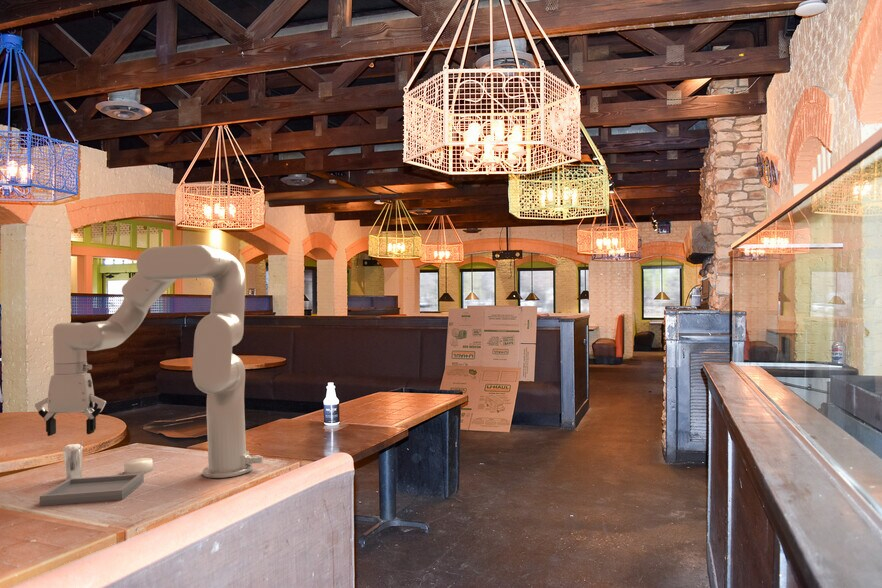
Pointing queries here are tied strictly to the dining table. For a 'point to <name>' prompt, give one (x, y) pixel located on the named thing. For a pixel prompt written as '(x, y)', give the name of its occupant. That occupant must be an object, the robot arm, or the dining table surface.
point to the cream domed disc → (138, 466)
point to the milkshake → (73, 460)
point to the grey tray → (92, 489)
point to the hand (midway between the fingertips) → (71, 434)
